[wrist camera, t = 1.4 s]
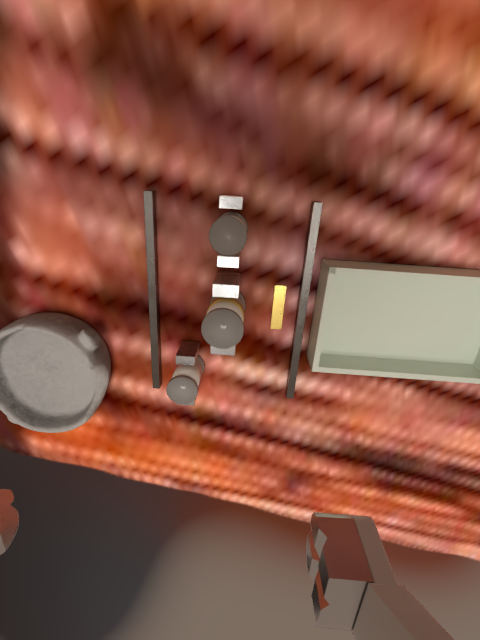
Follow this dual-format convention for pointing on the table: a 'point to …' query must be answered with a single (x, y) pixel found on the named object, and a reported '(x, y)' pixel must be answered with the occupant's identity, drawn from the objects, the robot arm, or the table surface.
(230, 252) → the fuse cartridge near arm
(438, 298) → the tray
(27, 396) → the dish
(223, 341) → the cylinder
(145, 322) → the table surface
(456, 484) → the table surface
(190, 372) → the fuse cartridge near camera
